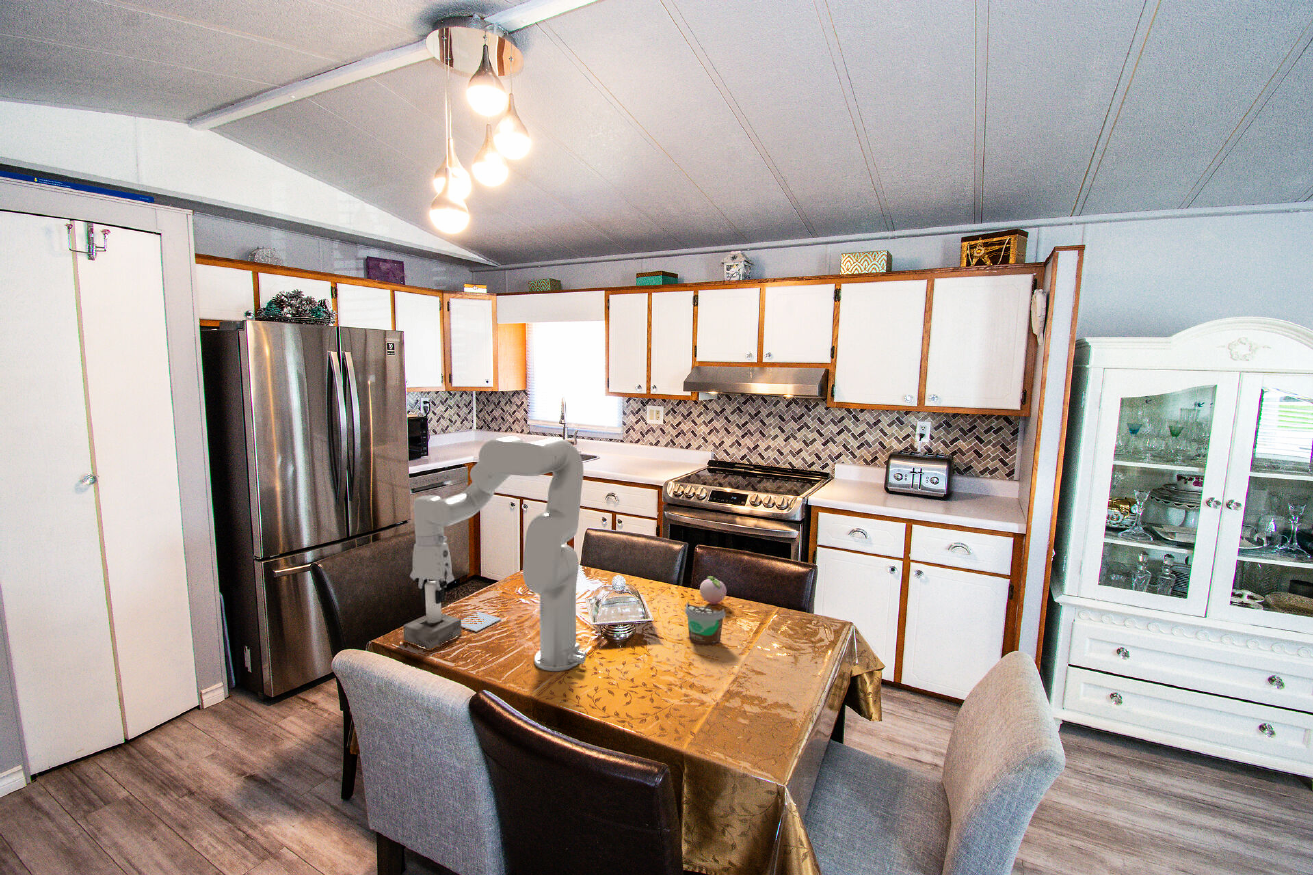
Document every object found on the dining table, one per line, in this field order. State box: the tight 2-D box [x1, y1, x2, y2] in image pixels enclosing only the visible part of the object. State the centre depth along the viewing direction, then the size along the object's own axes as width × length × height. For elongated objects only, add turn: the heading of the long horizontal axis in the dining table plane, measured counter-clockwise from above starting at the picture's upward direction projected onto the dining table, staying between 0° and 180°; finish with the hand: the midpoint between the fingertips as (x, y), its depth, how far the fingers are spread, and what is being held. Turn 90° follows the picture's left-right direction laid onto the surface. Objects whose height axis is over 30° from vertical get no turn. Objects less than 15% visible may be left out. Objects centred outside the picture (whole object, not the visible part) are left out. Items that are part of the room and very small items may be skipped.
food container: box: [684, 600, 726, 647], centre depth 160 cm, size 12×6×10 cm, turn 62°
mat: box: [461, 611, 502, 632], centre depth 171 cm, size 10×10×1 cm
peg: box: [425, 580, 442, 623], centre depth 160 cm, size 4×4×11 cm
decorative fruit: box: [699, 575, 727, 605], centre depth 186 cm, size 9×8×10 cm
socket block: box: [402, 612, 462, 649], centre depth 161 cm, size 11×11×5 cm
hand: (433, 600), depth 159 cm, fingers closed on peg, 4 cm apart
